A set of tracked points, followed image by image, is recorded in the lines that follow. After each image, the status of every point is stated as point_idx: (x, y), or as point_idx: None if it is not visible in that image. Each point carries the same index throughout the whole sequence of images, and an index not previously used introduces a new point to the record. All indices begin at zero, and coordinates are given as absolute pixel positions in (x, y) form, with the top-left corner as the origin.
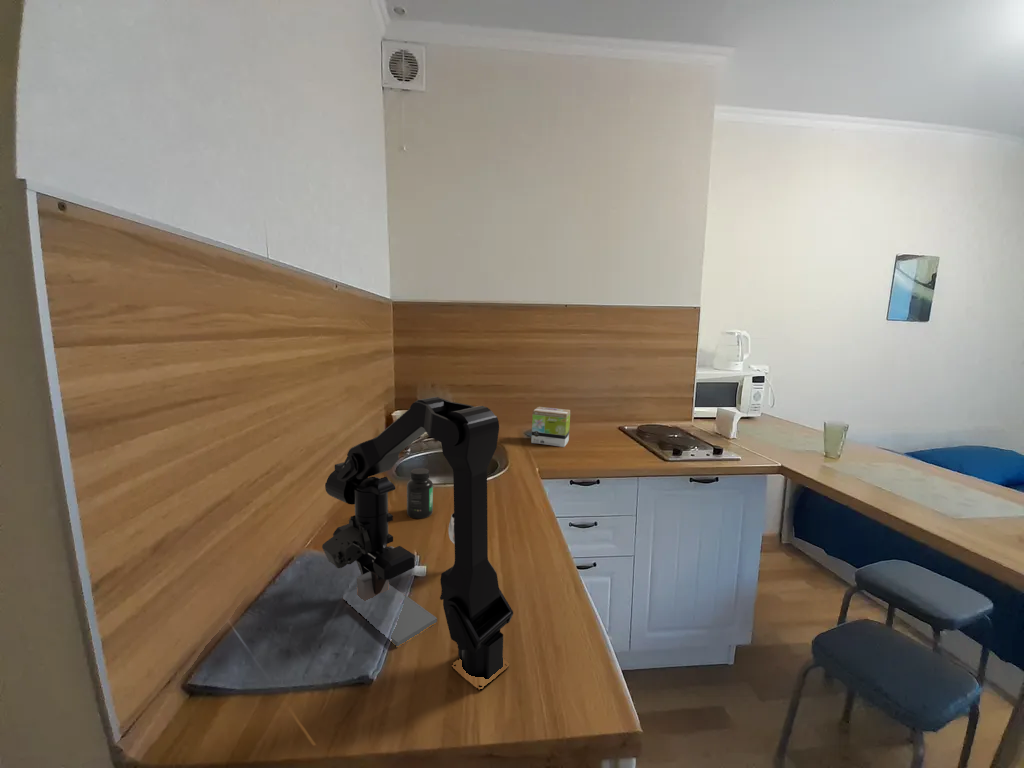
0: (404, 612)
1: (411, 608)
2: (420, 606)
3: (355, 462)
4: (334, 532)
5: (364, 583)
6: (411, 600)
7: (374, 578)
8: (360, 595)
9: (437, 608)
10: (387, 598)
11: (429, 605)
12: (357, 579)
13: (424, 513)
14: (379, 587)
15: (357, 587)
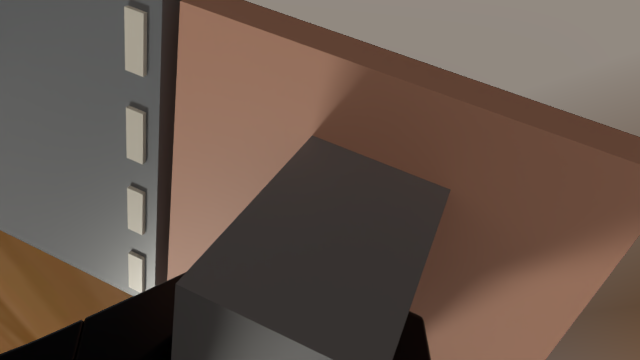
0: (11, 151)
1: (19, 199)
2: (5, 230)
3: None
4: None
5: (182, 278)
6: (81, 265)
7: (22, 355)
8: (371, 191)
9: (20, 258)
10: None
11: (61, 269)
12: (377, 349)
13: None
14: None
15: (417, 262)
